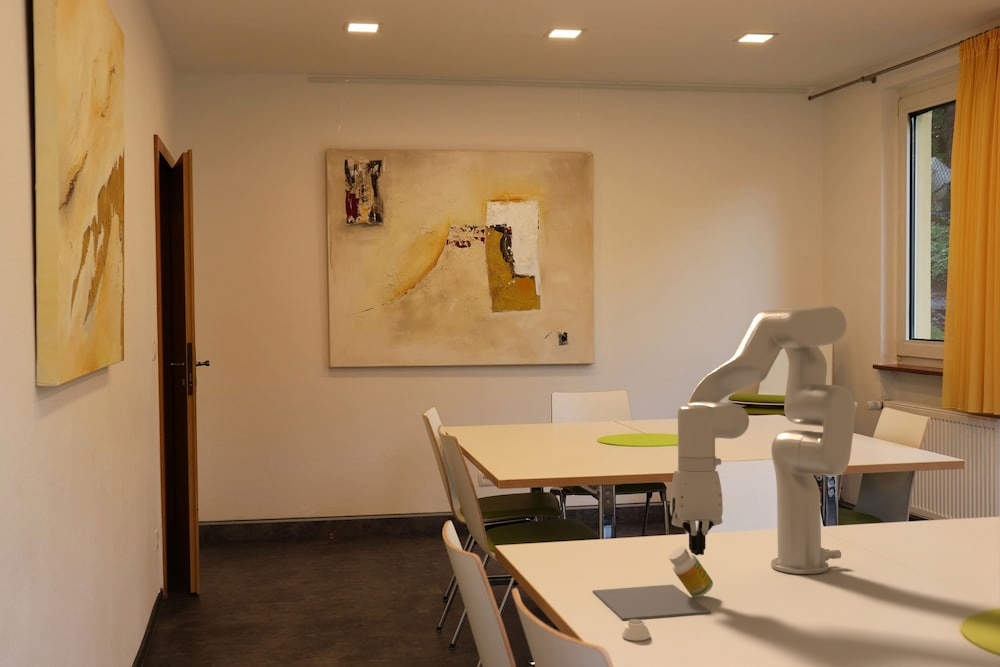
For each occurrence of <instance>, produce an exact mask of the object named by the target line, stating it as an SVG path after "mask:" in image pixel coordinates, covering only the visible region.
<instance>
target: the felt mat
mask: <svg viewBox="0 0 1000 667" xmlns="http://www.w3.org/2000/svg"><path fill="white" fill-rule="evenodd" d="M592 593H593V594H594V595H595V597H597V598H598V599H599V600H600V601H601V602H602V603H603V604H605V606H607V608H609V609H610V610H611V611H612V612H613V613H614V614H615V616H617V617H618V618H619V619H620V620H621V621H629V620H634V619H636V620H643V619H644V620H645V619H655V618H656V619H657V618H658V619H659V618H667V617H668V618H669V617H680V616H682V617H683V616H694V615H706V614H707V615H709V614H712V612H711V610H710V609H708V608H707V607H706V606H704V605H703V604H702V603H700V602H698V600H696V599H694V597H692V596H691V595H689V594H687V593H686V592H684V591H683V590H681V589H680V588H678V586H676V585H674V584H663V585H648V586H635V587H634V586H633V587H622V588H608V589H607V588H605V589H593V590H592Z"/></svg>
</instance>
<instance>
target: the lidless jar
mask: <svg viewBox="0 0 1000 667" xmlns="http://www.w3.org/2000/svg"><path fill="white" fill-rule="evenodd" d="M621 637H622V638H624V639H625V640H627V641H631V642H643V641H646V640H648V639H650V638H651V633H650V630H649V629H648V627H647V625H646V622H645V621H644V620H643V619H633V620H627V623H626V624H625V626H624V628H623V630H622V632H621Z"/></svg>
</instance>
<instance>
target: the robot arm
mask: <svg viewBox="0 0 1000 667" xmlns="http://www.w3.org/2000/svg"><path fill="white" fill-rule="evenodd" d="M846 331H847V318H846V316H845V314H844V312H843V311H842V310H841V309H840V308H838V307H836V306H833V305H816V306H789V307H784V308H781V309H772V310H771V309H770V310H769V309H768V310H764V311H761V312H759V313H757V314H756V315H755V316H754V317H753V319H752V320H751V322H750V324H749V326H748V328H747V329H746V331H745V333H744V335H743V336H742V337H741V340H740V342H739V344H738V346H737V347H736V349H735V351H734V352H733V354H732V356H731V358H730V359H728V360H727V361H726V362H725V363H722V364H721V365H720V366H718V367H717V368H715V369H714V370H713V371H711V372H710V373H708V374H707V375H706V376H705V377H703V378H702V380H700V382H699V383H698V384H697V385H696V387H695V388H694V390H692V393H691V395H690V396H689V398H688V399H687V402H686V404H685V405H682V406H681V407H679V408H678V411H677V464H678V465H677V468H678V469H677V470H674V471H673V475H672V476H673V477H672V479H671V480H672V481H671V487H670V488H671V489H670V502H669V513H670V516H671V517H672V518H671V524H672V525H673V526H675V527H678V528H682V529H684V530H685V532H686V533H687V534H688V548H689V550H690V554H693V555H694V556H699V555H700V556H703V555H705V550H706V547H707V546H706V536H707V535H708V533H709V531H710V530H711V529H712V528H713V527H715V526H718V525H721V524H723V518H722V517H723V512H724V511H723V508H724V506H723V493H722V486H721V485H722V484H721V479H720V476H719V471H717V466H721V464H722V460H721V458H718V457H717V456H716V439H728V440H733V439H737V438H740V437H741V436H742V435H744V434H745V432H746V431H747V430H748V429H749V425H750V417H749V414H748V413H747V411H746V410H745V408H744V407H742V406H741V405H739V404H737V403H732V402H722V400H723V399H725V398H726V397H728V396H729V395H732V394H734V393H736V392H739V391H741V390H744V389H747V388H750V387H753V386H755V385H757V384H759V383H761V382H763V381H764V380H765V379H766V378H767V376H768V375H769V373H770V371H771V369H772V367H773V365H774V364H775V362H776V360H777V358H778V355H779V354H780V352H781V351H782V349H784V350H785V353H786V356H787V361H788V373H787V380H786V388H785V395H784V396H785V397H784V408H783V410H784V415H785V418H786V419H787V421H789V422H790V423H793V424H797V425H803V426H814V427H822V431H820V432H819V431H814V430H813V431H811V430H803V429H801V430H799V429H790V430H789V429H788V430H784V431H781V432H780V433H778V434H776V436H775V437H774V439H773V441H772V443H771V449H770V450H771V459H772V462H773V463H772V464H773V466H774V471H775V479H776V509H777V510H776V516H777V518H776V520H777V522H776V523H777V524H776V525H777V557H776V558H775V557H774V558H773V559H772V560H771V562H770V565H771V566H770V567H771V568H773V570H776V571H779V572H782V573H787V574H796V575H817V574H822V573H825V572H828V571H829V563H828V562H827V561H829V560H830V559H832V560H834V559H835V560H836V559H837V560H839V559H841V558H842V552H841V550H839V549H834V550H833V549H832V550H830V548H828V549H827V548H823V547H822V526H821V524H822V523H821V521H822V520H821V519H822V518H821V517H822V516H821V491H820V487H819V485H818V484H819V483H818V482H817V480H816V478H815V476H814V475H819V476H826V477H838V476H840V475H843V473H845V471H846V470H847V468H848V467H849V463H850V459H851V454H852V447H853V446H852V444H853V437H854V428H855V421H856V420H855V419H856V403H855V399H854V396H853V394H852V392H851V391H850V390H848V388H846V387H845V386H843V385H842V386H841V385H838V384H834V385H833V384H827V372H828V363H827V360H826V356H825V355H824V353H823V352H822V350H821V348H820V347H822V346H828V345H829V346H830V345H833V344H835V343H838V342H839V341H840V340H842V338H843V337H844V335H845V334H846ZM696 521H697V523H696Z"/></svg>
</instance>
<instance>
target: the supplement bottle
mask: <svg viewBox="0 0 1000 667" xmlns="http://www.w3.org/2000/svg"><path fill="white" fill-rule="evenodd" d="M668 559H669V561H670V563H672V564H673V566H672V570H673V572H674V573H675V575H676V577H678V580H679V582H681V583H682V585H683V586H684V587H685V589H686V591H687V592H688V593H689V594H690V595H689V596H690V597H691V598H701V597H702V596H705V595H706V594H708V593H709V591H711V589H712V588H713V586H714V581H713V580H712V578H711V576H710V575H709V574H708V573H707V571H706V569H705V568H704V567H703V565H702V564H701V563H700V560H699V559H698V558H697V557H696V555H695V554H693V553H689V552H688V550H687V548H686V547H684V546H679V547H677V548H675V549H674V550H672V551H671V553H670V554H669V556H668Z"/></svg>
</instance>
